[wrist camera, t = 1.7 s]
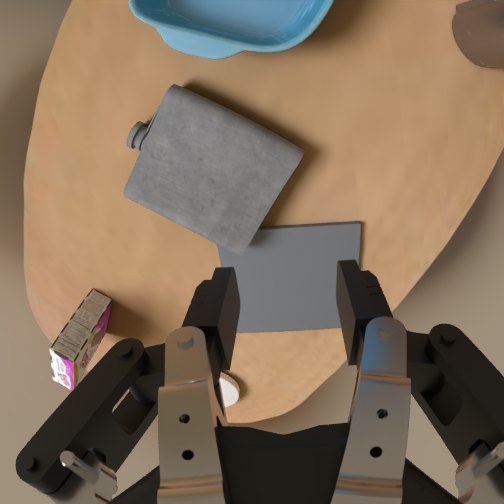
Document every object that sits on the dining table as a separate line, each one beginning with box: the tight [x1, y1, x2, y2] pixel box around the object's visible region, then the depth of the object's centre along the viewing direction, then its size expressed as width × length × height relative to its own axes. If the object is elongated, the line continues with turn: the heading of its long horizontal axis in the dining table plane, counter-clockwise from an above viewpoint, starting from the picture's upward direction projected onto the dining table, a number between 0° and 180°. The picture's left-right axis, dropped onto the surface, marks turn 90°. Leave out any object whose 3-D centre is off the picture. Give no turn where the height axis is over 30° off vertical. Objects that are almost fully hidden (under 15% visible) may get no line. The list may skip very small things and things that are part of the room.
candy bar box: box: [50, 289, 112, 391], centre depth 46 cm, size 11×5×16 cm, turn 153°
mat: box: [217, 221, 361, 333], centre depth 45 cm, size 19×20×1 cm
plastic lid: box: [219, 372, 240, 407], centre depth 60 cm, size 14×14×2 cm
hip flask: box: [123, 84, 304, 256], centre depth 35 cm, size 16×4×20 cm
